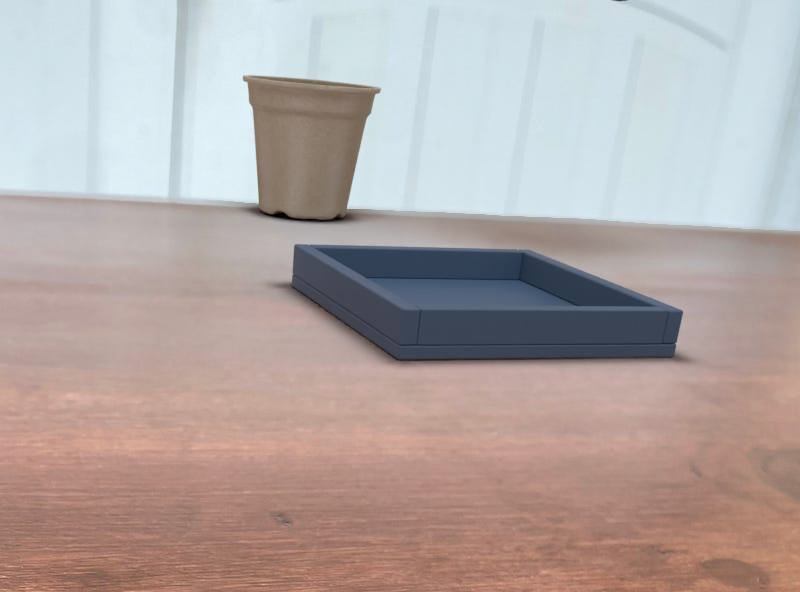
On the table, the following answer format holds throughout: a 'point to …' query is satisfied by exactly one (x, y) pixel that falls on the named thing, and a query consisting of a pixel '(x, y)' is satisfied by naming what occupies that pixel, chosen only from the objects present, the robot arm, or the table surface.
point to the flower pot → (307, 143)
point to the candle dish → (481, 304)
